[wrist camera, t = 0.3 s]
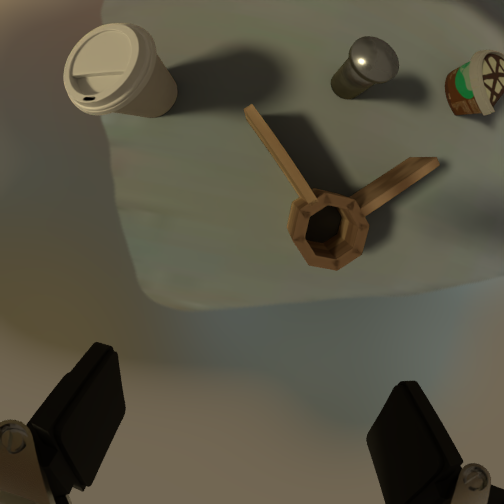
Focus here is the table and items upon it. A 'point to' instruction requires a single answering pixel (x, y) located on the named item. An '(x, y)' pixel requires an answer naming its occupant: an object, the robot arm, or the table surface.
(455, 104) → the food container
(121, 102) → the coffee cup
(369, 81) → the pin
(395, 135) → the table surface
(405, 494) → the robot arm
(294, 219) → the hinge
